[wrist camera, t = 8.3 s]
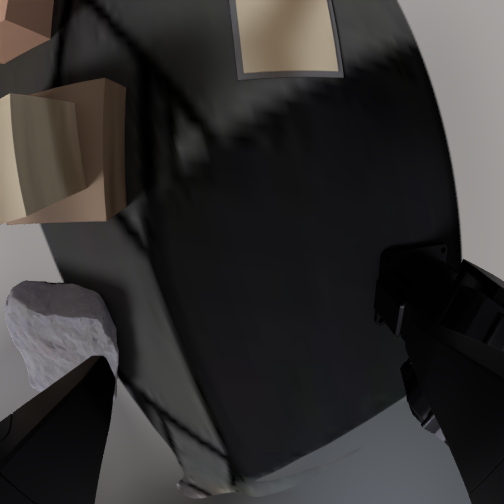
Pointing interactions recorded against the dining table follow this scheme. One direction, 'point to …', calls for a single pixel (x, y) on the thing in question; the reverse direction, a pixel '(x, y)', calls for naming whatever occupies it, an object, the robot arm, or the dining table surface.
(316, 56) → the tile
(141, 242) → the dining table surface
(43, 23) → the terracotta block
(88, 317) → the stone block
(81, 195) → the walnut base block
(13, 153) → the oak block
